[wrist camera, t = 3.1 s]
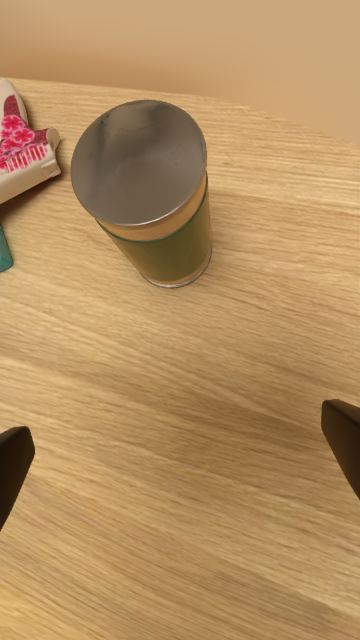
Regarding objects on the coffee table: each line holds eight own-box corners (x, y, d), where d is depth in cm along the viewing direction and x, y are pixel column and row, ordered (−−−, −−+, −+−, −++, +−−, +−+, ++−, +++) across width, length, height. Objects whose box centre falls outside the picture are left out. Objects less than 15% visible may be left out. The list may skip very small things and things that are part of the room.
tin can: (225, 232, 24) (232, 124, 13) (188, 302, 23) (162, 248, 13) (157, 202, 25) (112, 83, 15) (120, 268, 25) (45, 193, 14)
